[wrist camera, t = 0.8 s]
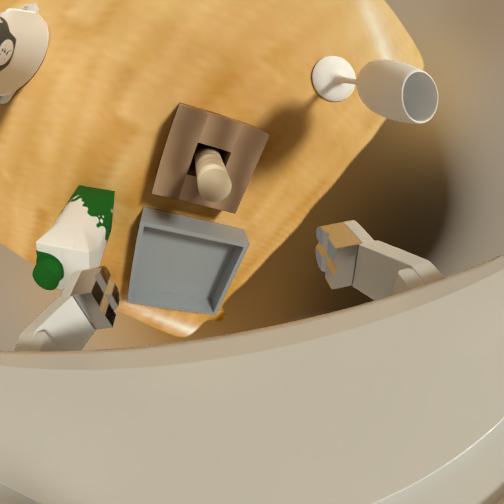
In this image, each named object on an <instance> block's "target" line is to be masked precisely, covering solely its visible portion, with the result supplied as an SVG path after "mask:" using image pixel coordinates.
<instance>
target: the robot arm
mask: <svg viewBox="0 0 504 504" xmlns="http://www.w3.org/2000/svg"><path fill="white" fill-rule="evenodd" d="M48 41H49V31H48V26H47V24H46V22H45V20H44V19H43V18H42V17H41V16H40V14H39V7H38V4H36V3H31V4H28V5H25V6H23V7H20V8H17V9H7V10H6V11H4V12H2V13H0V96H1V97H0V104H6V103H8V102H9V101H10V99H11V98H12V96H13V95H14V93H15V92H16V91H17V90H18V89H19V88H20V87H22V86H23V85H24V84H26V83H27V82H28V81H29V80H30V79H31V78H32V76H33V75H34V74H35V73H36V71H37V70H38V68H39V67H40V65H41V63H42V61H43V59H44V56H45V54H46V50H47V47H48ZM316 237H317V239H318V240H319V243H318V245H317V246H316V258H317V262H318V265H319V267H320V269H321V270H322V271H324V272H326V275H325V278H326V280H327V282H328V283H329V285H330V287H331V289H336V288H341V287H345V286H350V285H353V287H355V288H356V289H358V290H359V291H361V292H362V293H364V294H366V295H367V296H369V297H370V298H372V299H373V300H375V301H372V302H368V303H365V304H361V305H358V306H354V307H351V308H347V309H343V310H339V311H336V312H332V313H328V314H324V315H320V316H316V317H311V318H307V319H303V320H298V321H294V322H289V323H285V324H281V325H276V326H271V327H265V328H261V329H255V330H250V331H245V332H239V333H234V334H228V335H222V336H216V337H210V338H203V339H197V340H190V341H183V342H175V343H167V344H159V345H149V346H139V347H129V348H117V349H103V350H86V351H81V350H82V349H83V347H84V346H85V344H86V343H87V342H88V340H89V339H90V337H91V336H92V335H93V333H94V332H95V330H97V329H103V328H110V327H113V324H114V320H115V316H116V314H115V312H114V310H115V309H116V308H117V307H118V305H119V292H118V288H117V286H116V284H115V283H114V282H113V281H111V280H110V275H111V274H110V272H109V270H108V269H107V267H105V266H101V267H95V268H90V269H84V270H79V271H75V272H73V273H72V274H71V276H70V278H69V280H68V282H67V284H66V286H65V288H64V290H63V292H62V295H61V296H60V298H57V299H56V300H55V301H54V302H52V303H51V304H50V305H49V306H48V307H47V308H46V309H45V310H44V311H43V312H42V313H41V314H40V315H39V316H38V317H37V318H35V320H33V321H32V322H31V323H30V324H29V325H28V326H27V327H26V328H25V329H24V330H23V331H22V333H21V335H20V337H19V340H18V342H17V344H16V347H15V349H14V351H0V504H504V255H500V256H497V257H495V258H493V259H491V260H488V261H486V262H484V263H481V264H479V265H476V266H474V267H471V268H469V269H466V270H464V271H461V272H459V273H456V274H454V275H451V276H448V277H444V276H443V275H442V274H441V273H440V272H439V271H438V270H437V269H436V268H435V267H434V265H433V264H432V263H430V261H428V260H425V259H423V258H421V257H418V256H416V255H413V254H411V253H408V252H406V251H404V250H401V249H399V248H396V247H393V246H391V245H388V244H386V243H383V242H380V241H374V240H373V239H372V238H371V237H370V236H369V235H368V234H367V232H366V231H365V230H364V229H363V228H362V227H361V226H360V225H359V224H358V223H357V222H356V221H354V220H351V221H346V222H342V223H336V224H332V225H326V226H321V227H317V231H316Z"/></svg>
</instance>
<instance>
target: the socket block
mask: <svg viewBox="0 0 504 504" xmlns="http://www.w3.org/2000/svg"><path fill="white" fill-rule="evenodd" d="M269 136H270V135H268V134H267V133H266V132H265V131H263V130H262V129H260V128H257V127H255V126H252V125H249V124H247V123H244V122H241V121H238V120H235V119H232V118H229V117H226V116H223V115H220V114H217V113H214V112H210V111H207V110H204V109H201V108H197V107H194V106H190V105H186V104H183V103H179V106H178V109H177V112H176V114H175V117H174V120H173V123H172V126H171V129H170V132H169V135H168V138H167V141H166V144H165V147H164V151H163V154H162V157H161V161H160V164H159V168H158V171H157V175H156V178H155V182H154V186H153V190H152V194H155V195H160V196H164V197H169V198H173V199H177V200H182V201H186V202H190V203H194V204H198V205H202V206H207V207H211V208H215V209H219V210H223V211H227V212H231V213H236V211H237V208H238V206H239V204H240V201H241V199H242V197H243V194H244V192H245V190H246V188H247V185H248V183H249V181H250V178H251V176H252V174H253V172H254V169H255V167H256V165H257V163H258V160H259V158H260V156H261V154H262V152H263V149H264V147H265V145H266V143H267V141H268V138H269ZM198 143H202V144H205V145H209V146H212V147H215V148H219V149H222V150H224V152H223V155H222V157H221V158H222V161H223V163H224V166H225V168H226V170H227V173H228V175H229V178H230V180H231V184H232V188H231V191H230V193H229V195H228V196H227V197H226V198H225V199H223V200H221V201H218V202H210V201H207V200H205V199H204V198H202V197H201V195H200V193H199V191H198V183H197V175H196V166H193V165H190V164H191V161H192V158H193V155H194V152H195V149H196V146H197V144H198Z"/></svg>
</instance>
